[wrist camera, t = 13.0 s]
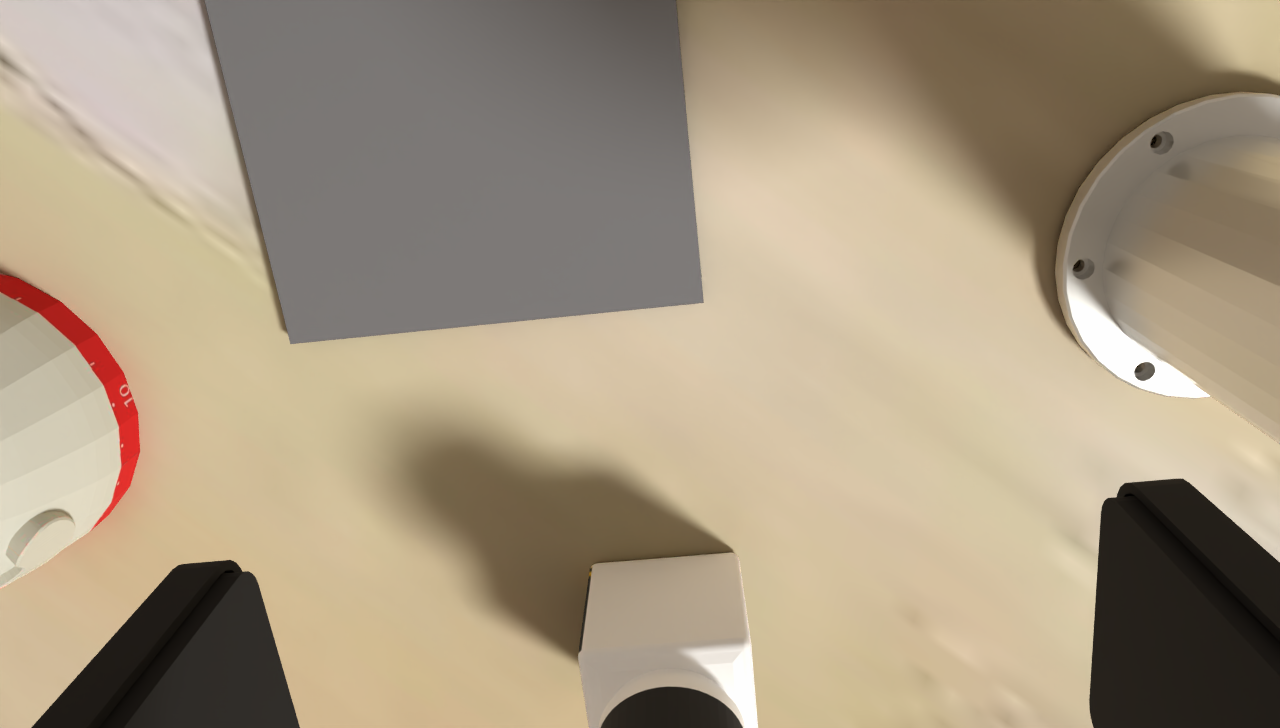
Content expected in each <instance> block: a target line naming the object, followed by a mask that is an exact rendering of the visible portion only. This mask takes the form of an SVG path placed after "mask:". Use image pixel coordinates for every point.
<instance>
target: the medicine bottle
mask: <svg viewBox="0 0 1280 728" xmlns="http://www.w3.org/2000/svg"><path fill="white" fill-rule="evenodd" d="M578 661H579V667H580V674H581V680H582V686H583V693H584V699H585V706H586V712H587V718H588V725H589V728H758V723H757V710H756V698H755V686H754V673H753V661H752V649H751V640H750V632H749V625H748V618H747V611H746V604H745V596H744V589H743V582H742V575H741V568H740V560H739V558H738V556H737V555H736V554H735V553H718V554H706V555H694V556H681V557H669V558H657V559H644V560H632V561H620V562H607V563H596V564H593V565H592V566H591V568H590V572H589V579H588V587H587V594H586V601H585V609H584V616H583V623H582V631H581V638H580V646H579V653H578Z"/></svg>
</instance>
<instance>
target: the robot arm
mask: <svg viewBox="0 0 1280 728" xmlns="http://www.w3.org/2000/svg"><path fill="white" fill-rule="evenodd" d="M1155 135H1156V139H1157V140H1156V143H1155V144H1154V145H1153V146H1150V143H1151V140H1152V138H1153V137H1154V136H1155ZM1078 260H1080V265H1079V266H1078V268H1076V269H1073V267H1074V264H1075V263H1076V262H1077V261H1078ZM1055 277H1056V286H1057V295H1058V301H1059V304H1060V307H1061V310H1062V313H1063V315H1064V318H1065V321H1066V324H1067V326H1068V327H1069V329H1070V331H1071V332H1072V334H1073V335H1074V337H1075V339H1076V340H1077V342H1078V344H1079V345H1080V346H1081V347H1082V348H1083V349H1084V350H1085V351H1086V352H1087V353H1088V355H1089V356H1090V357H1091V358H1092V359H1093V360H1094V361H1095V362H1096V363H1097V364H1099V365H1100V366H1101V367H1103V368H1104V369H1106V370H1107V371H1108V372H1110V373H1111V374H1112V375H1113V376H1115V377H1116V378H1118V379H1120V380H1121V381H1123V382H1125V383H1127V384H1129V385H1131V386H1132V387H1135V388H1137V389H1140V390H1143V391H1147V392H1151V393H1154V394H1158V395H1162V396H1166V397H1178V398H1190V399H1195V398H1206V397H1212V398H1214V399H1215V400H1216V401H1218V402H1219V403H1221V404H1222V405H1224V406H1225V407H1227V408H1228V409H1229V410H1231V411H1232V412H1234V413H1235V414H1237V415H1238V416H1240V417H1241V418H1243V419H1244V420H1245V421H1247V422H1248V423H1250V424H1251V425H1253V426H1254V427H1256V428H1257V429H1258V430H1260V431H1261V432H1263V433H1264V434H1266V435H1267V436H1269V437H1270V438H1272V439H1273V440H1274V441H1276V442H1277V443H1279V444H1280V96H1279V95H1274V94H1268V93H1254V92H1233V93H1224V94H1215V95H1209V96H1205V97H1202V98H1198V99H1195V100H1192V101H1188V102H1185V103H1182V104H1178V105H1176V106H1174V107H1172V108H1170V109H1168V110H1166V111H1164V112H1162V113H1160V114H1158V115H1156V116H1154V117H1152V118H1150V119H1148V120H1147V121H1145V122H1144V123H1143V124H1141V125H1140V126H1138V127H1137V128H1136V129H1134V130H1133V131H1131V132H1130V133H1129V134H1127V135H1126V136H1124V137H1123V138H1122V139H1121V140H1120V141H1119V142H1118V143H1117V144H1116V145H1115V146H1114V147H1113V148H1112V149H1111V150H1110V151H1109V152H1108V153H1107V154H1106V155H1105V156H1104V157H1103V158H1102V159H1101V160H1100V161H1099V162H1098V163H1097V164H1096V166H1095V167H1094V168H1093V170H1092V171H1091V172H1090V174H1089V175H1088V177H1087V178H1086V179H1085V181H1084V182H1083V184H1082V185H1081V186H1080V188H1079V190H1078V192H1077V194H1076V196H1075V198H1074V200H1073V202H1072V204H1071V206H1070V208H1069V210H1068V212H1067V214H1066V216H1065V220H1064V223H1063V227H1062V230H1061V234H1060V237H1059V241H1058V244H1057V255H1056V266H1055ZM1139 364H1140V365H1139ZM1138 365H1139V366H1138ZM1137 366H1138V367H1137ZM1136 367H1137V368H1136ZM1135 368H1136V369H1135ZM1089 701H1090V714H1091V719H1092V723H1093V727H1094V728H1280V562H1278V561H1277V560H1276V559H1275V558H1274V557H1273V556H1272V555H1270V554H1269V553H1268V552H1267V551H1266V550H1265V549H1264V548H1263V547H1261V546H1260V545H1259V544H1258V543H1257V542H1256V541H1255V540H1253V539H1252V538H1251V537H1250V536H1249V535H1248V534H1247V533H1246V532H1244V531H1243V530H1242V529H1241V528H1240V527H1239V526H1238V525H1236V524H1235V523H1234V522H1233V521H1232V520H1231V519H1230V518H1229V517H1227V516H1226V515H1225V514H1224V513H1223V512H1222V511H1221V510H1219V509H1218V508H1217V507H1216V506H1215V505H1214V504H1213V503H1212V502H1210V501H1209V500H1208V499H1207V498H1206V497H1205V496H1204V495H1202V494H1201V493H1200V492H1199V491H1198V490H1197V489H1196V488H1195V487H1193V486H1192V485H1191V484H1190V483H1189V482H1187V481H1185V480H1184V479H1168V480H1156V481H1144V482H1133V483H1125V484H1123V485H1122V486H1121V487H1120V489H1119V492H1118V494H1117V497H1116V498H1107V499H1106V500H1105V501H1104V503H1103V506H1102V511H1101V524H1100V540H1099V556H1098V572H1097V588H1096V604H1095V620H1094V636H1093V652H1092V668H1091V684H1090V700H1089ZM32 728H300V727H299V723H298V720H297V716H296V713H295V709H294V706H293V702H292V699H291V696H290V692H289V689H288V685H287V682H286V678H285V675H284V671H283V668H282V664H281V661H280V658H279V654H278V651H277V647H276V644H275V640H274V637H273V633H272V630H271V626H270V623H269V620H268V616H267V613H266V609H265V606H264V602H263V599H262V595H261V592H260V588H259V585H258V582H257V580H256V578H255V576H254V575H253V574H252V573H250V572H248V571H247V572H242V570H241V568H240V567H239V566H238V564H237V563H236V562H234V561H231V560H226V561H214V562H202V563H191V564H182V565H178V566H177V567H176V568H174V569H173V570H172V571H171V572H170V573H169V574H168V575H167V577H166V578H165V579H164V580H163V581H162V582H161V583H160V584H159V585H158V587H157V588H156V589H155V590H154V591H153V592H152V593H151V594H150V596H149V597H148V598H147V599H146V600H145V601H144V602H143V603H142V604H141V606H140V607H139V608H138V609H137V610H136V611H135V612H134V613H133V615H132V616H131V617H130V618H129V619H128V620H127V621H126V622H125V624H124V625H123V626H122V627H121V628H120V629H119V630H118V631H117V632H116V634H115V635H114V636H113V637H112V638H111V639H110V640H109V641H108V643H107V644H106V645H105V646H104V647H103V648H102V649H101V650H100V652H99V653H98V654H97V655H96V656H95V657H94V658H93V659H92V660H91V662H90V663H89V664H88V665H87V666H86V667H85V668H84V669H83V671H82V672H81V673H80V674H79V675H78V676H77V677H76V678H75V679H74V681H73V682H72V683H71V684H70V685H69V686H68V687H67V688H66V690H65V691H64V692H63V693H62V694H61V695H60V696H59V697H58V699H57V700H56V701H55V702H54V703H53V704H52V705H51V706H50V707H49V709H48V710H47V711H46V712H45V713H44V714H43V715H42V716H41V718H40V719H39V720H38V721H37V722H36V723H35V724H34V725H33V727H32Z"/></svg>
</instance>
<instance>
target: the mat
mask: <svg viewBox="0 0 1280 728" xmlns="http://www.w3.org/2000/svg"><path fill="white" fill-rule="evenodd" d="M205 4H206V8H207V12H208V16H209V20H210V24H211V28H212V32H213V36H214V40H215V44H216V48H217V52H218V56H219V60H220V64H221V68H222V72H223V76H224V80H225V84H226V88H227V92H228V96H229V100H230V104H231V108H232V112H233V116H234V120H235V124H236V128H237V132H238V136H239V140H240V144H241V148H242V152H243V156H244V160H245V164H246V168H247V172H248V176H249V180H250V184H251V188H252V192H253V196H254V200H255V204H256V208H257V212H258V216H259V220H260V224H261V228H262V232H263V236H264V240H265V244H266V248H267V252H268V256H269V260H270V264H271V268H272V272H273V276H274V280H275V284H276V288H277V292H278V296H279V300H280V304H281V308H282V312H283V316H284V320H285V324H286V328H287V332H288V336H289V340H290V344H296V343H306V342H316V341H326V340H336V339H346V338H356V337H366V336H376V335H386V334H396V333H406V332H416V331H426V330H436V329H446V328H456V327H466V326H476V325H486V324H496V323H506V322H516V321H526V320H536V319H546V318H556V317H566V316H576V315H586V314H596V313H606V312H616V311H626V310H636V309H646V308H656V307H666V306H676V305H686V304H696V303H704V302H703V291H702V280H701V269H700V258H699V248H698V237H697V226H696V215H695V204H694V193H693V182H692V171H691V160H690V150H689V139H688V128H687V117H686V106H685V95H684V84H683V73H682V62H681V52H680V41H679V30H678V19H677V8H676V0H205Z"/></svg>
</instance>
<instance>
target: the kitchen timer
mask: <svg viewBox="0 0 1280 728" xmlns="http://www.w3.org/2000/svg"><path fill="white" fill-rule="evenodd" d="M139 453H140V443H139V424H138V412H137V409H136V406H135V403H134V400H133V398H132V395H131V392H130V389H129V387H128V384H127V381H126V378H125V375H124V373H123V371H122V370H121V368H120V367H119V365H118V364H117V362H116V361H115V359H114V358H113V357H112V355H111V354H110V352H109V351H108V349H107V348H106V346H105V345H104V344H103V342H102V341H101V339H100V338H99V336H98V335H97V334H96V333H95V332H94V331H93V330H92V329H91V328H90V327H88V326H87V325H86V324H85V323H84V322H83V321H82V320H81V319H80V318H78V317H77V316H76V315H75V314H74V313H73V312H72V311H71V310H69V309H68V308H67V307H66V306H65V305H64V304H63V303H62V302H60V301H59V300H57V299H55V298H53V297H51V296H49V295H48V294H46V293H44V292H42V291H40V290H39V289H37V288H35V287H33V286H31V285H29V284H28V283H26V282H24V281H22V280H20V279H18V278H15V277H12V276H8V275H4V274H1V273H0V589H1V588H3V587H5V586H6V585H8V584H10V583H11V582H13V581H15V580H17V579H18V578H20V577H22V576H24V575H26V574H28V573H30V572H31V571H33V570H35V569H37V568H38V567H40V566H42V565H43V564H45V563H46V562H48V561H49V560H50V559H52V558H53V557H54V556H56V555H57V554H58V553H59V552H60V551H61V550H63V549H64V548H66V547H67V546H69V545H70V544H72V543H73V542H75V541H76V540H78V539H80V538H81V537H82V536H84V535H85V534H87V533H88V532H90V531H91V530H92V529H93V528H94V527H95V526H97V525H98V524H99V523H100V522H101V521H102V520H103V519H104V518H106V517H107V516H108V515H109V514H110V513H111V511H112V510H113V508H114V507H115V506H116V504H117V503H118V502H119V500H120V499H121V498H122V496H123V495H124V494H125V492H126V491H127V490H128V488H129V487H130V484H131V481H132V477H133V474H134V470H135V467H136V463H137V460H138V457H139Z"/></svg>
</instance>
